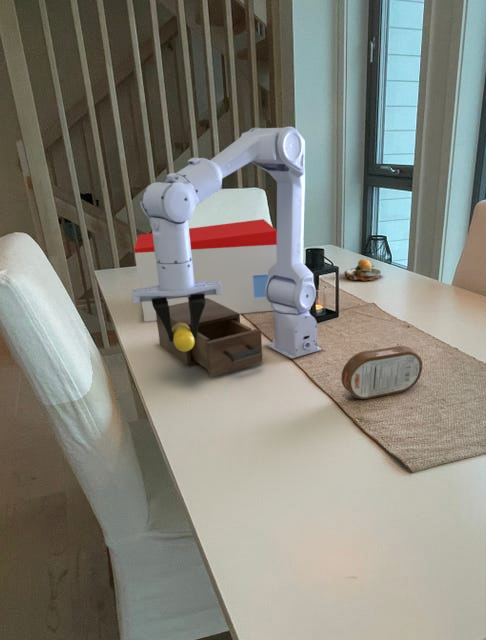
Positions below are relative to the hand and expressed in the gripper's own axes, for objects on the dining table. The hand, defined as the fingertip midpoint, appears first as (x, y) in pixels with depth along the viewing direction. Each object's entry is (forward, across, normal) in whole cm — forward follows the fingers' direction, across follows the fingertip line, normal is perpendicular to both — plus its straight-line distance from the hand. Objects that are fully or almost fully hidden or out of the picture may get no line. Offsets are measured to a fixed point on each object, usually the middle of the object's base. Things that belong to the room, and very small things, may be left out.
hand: (183, 338), depth 89 cm
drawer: (+9, -9, -9) cm, 16 cm away
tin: (+11, -32, +13) cm, 36 cm away
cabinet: (+10, -5, -20) cm, 24 cm away
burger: (+11, -65, -64) cm, 92 cm away
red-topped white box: (+11, -13, -52) cm, 55 cm away
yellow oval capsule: (+1, 0, 0) cm, 1 cm away
